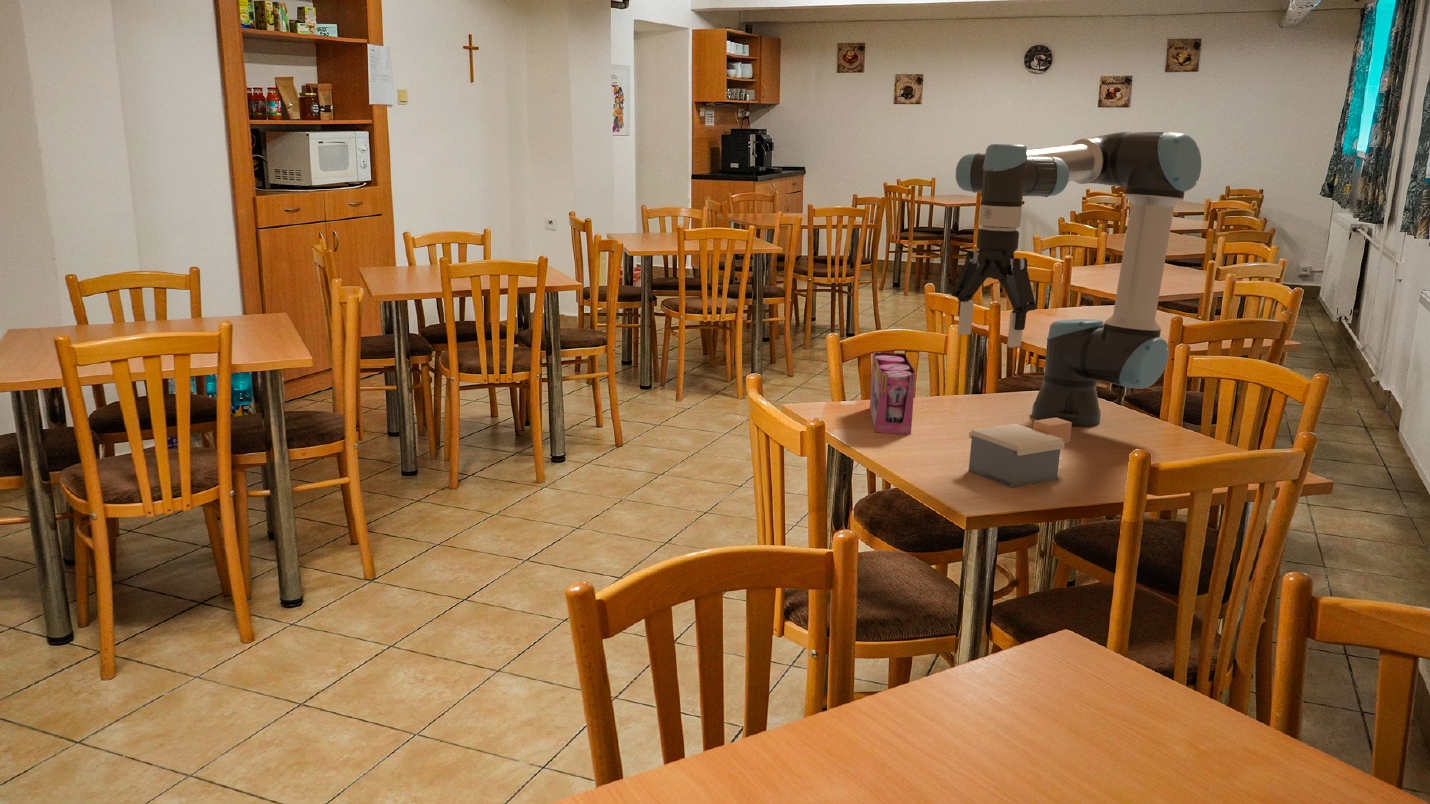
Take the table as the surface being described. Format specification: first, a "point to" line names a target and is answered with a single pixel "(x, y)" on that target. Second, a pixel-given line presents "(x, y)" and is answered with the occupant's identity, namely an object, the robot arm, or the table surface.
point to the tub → (1012, 464)
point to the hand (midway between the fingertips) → (988, 340)
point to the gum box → (892, 393)
